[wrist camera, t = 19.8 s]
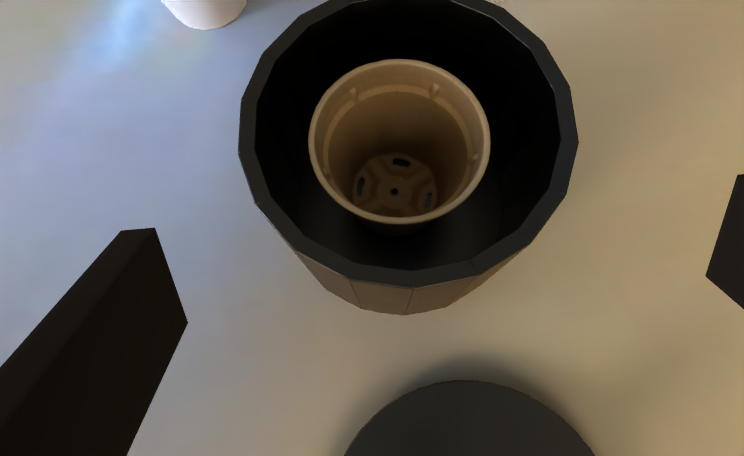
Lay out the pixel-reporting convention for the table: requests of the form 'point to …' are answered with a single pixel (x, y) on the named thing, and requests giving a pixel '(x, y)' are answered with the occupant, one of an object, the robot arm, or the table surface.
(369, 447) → the lid
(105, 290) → the robot arm
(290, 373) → the table surface
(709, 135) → the table surface
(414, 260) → the canister
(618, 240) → the table surface
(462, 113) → the flower pot
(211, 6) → the foam cup
